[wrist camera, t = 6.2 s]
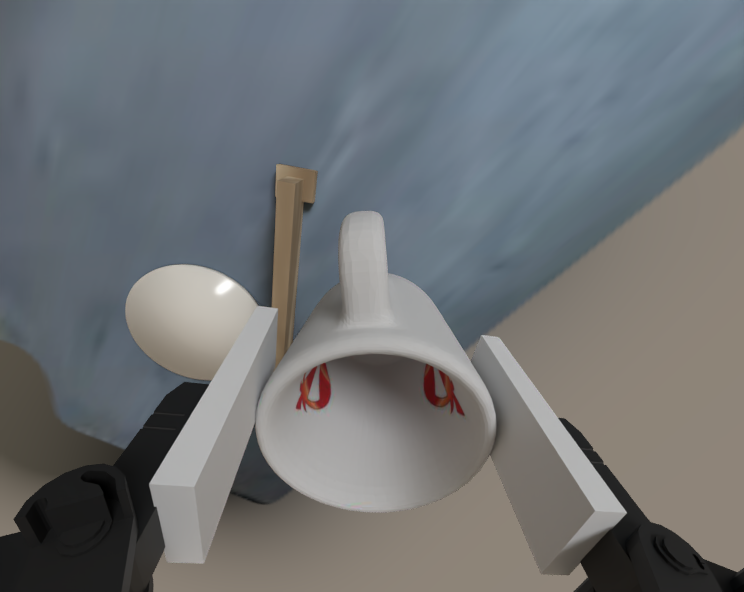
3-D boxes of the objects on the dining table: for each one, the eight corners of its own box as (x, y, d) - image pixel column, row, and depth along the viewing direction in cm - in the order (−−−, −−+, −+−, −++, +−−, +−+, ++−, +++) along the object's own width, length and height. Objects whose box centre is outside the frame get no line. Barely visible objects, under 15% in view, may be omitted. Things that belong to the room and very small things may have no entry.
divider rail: (269, 382, 34) (257, 414, 30) (279, 163, 24) (263, 166, 20) (297, 385, 34) (289, 417, 30) (317, 170, 24) (309, 175, 20)
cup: (282, 199, 14) (187, 250, 7) (452, 187, 14) (531, 227, 7) (316, 378, 19) (279, 518, 12) (445, 373, 19) (487, 513, 12)
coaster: (138, 370, 32) (136, 372, 32) (117, 253, 27) (113, 254, 26) (265, 383, 34) (264, 386, 33) (268, 275, 28) (267, 277, 28)
